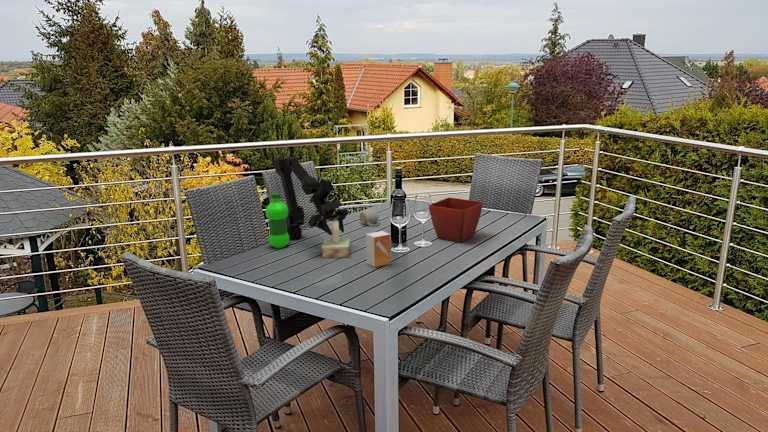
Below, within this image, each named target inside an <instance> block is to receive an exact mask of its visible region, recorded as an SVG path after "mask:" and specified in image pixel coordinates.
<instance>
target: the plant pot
mask: <svg viewBox="0 0 768 432" xmlns="http://www.w3.org/2000/svg"><path fill="white" fill-rule="evenodd" d="M483 204H484V203H483V201H477V200H471V199H463V198H457V197H447V198H444V199H442V200H439V201H436V202H433V203H431V204H428V209H429V214H430V218H431V223H432V225H433V228H434V232H435V233H436V236H437V238H438V239H439V240H445V241H450V242H454V243H460V244H461V243H463V242H464V241H468V240H469V239H470V238H473V237H474V235H475V233H476V231H477V227H478V226H479V222H480V218H481V214H482V210H483Z"/></svg>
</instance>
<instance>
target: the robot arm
mask: <svg viewBox="0 0 768 432" xmlns="http://www.w3.org/2000/svg"><path fill="white" fill-rule="evenodd" d="M273 167H274V171H275V173H276V174H277V176H279V177H280V180H281V184H282V188H283V189H282V190H283V193H284V197H285V201H286V206H287V208H288V216H287V217H286V227H287V233H288V234H289V240H300V239H301V238H302V237H303V228H302V225H304V224H305V217H306V216H305V212H304V207H303V206H300V205H299V204H298V200H297V196H296V192H295V186H294V183H293V179H292V173H293V174H294V175H295V177H296V178H297V180H298V181H299V182H300V183H301V190H303V193H304V194H305V195H307V196H309V195H311V196H310V199H309V203H312V204H313V205H314V207H315V209H316V210H315V212H316V214H314V215H312V216H311V217H310V219H309V220H308V226H309V227H310V228H313V227H314V228H316V229H317V228H318V229H320V230H322V231H323V232H324V233H327V234H328V235H330V236H332V229H331V228H330V227H329V225H328V222H327V221H329V220H333V219H334V220H337V221H339V231H340V232H341V233H344V232H345V229H344V228H345V227H344V220H345V219H347V216H348V215H349V213H350V212H349V211H348V209H347V208H340V207H341V206H342V202H341V200H340V199H338V198H337V199H335V200H333V201H328V200H327V198H329V196H330V195H331V193H332V191H333V190H334V185H333V184H332V183H331V182H329V181H327V179H325V178H324V179H320V181H319V180H318V179H317V178H315V177H314V176H311V175H310V174H309V173H308V171H307V170H306V169H305V168H304V167H303V166H302V164H301V162H299V159H298V158H297V157H279V158H276V159H275V160H274V162H273ZM337 209H338V210H337ZM336 210H337V212H336ZM335 212H336V213H335Z"/></svg>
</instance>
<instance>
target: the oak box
mask: <svg viewBox="0 0 768 432" xmlns="http://www.w3.org/2000/svg"><path fill="white" fill-rule="evenodd" d="M350 244H351V243H349V247H348V249H322V248H321V250H322V251H321V252H322V253H321V254H322V259H326V258H328V259H329V258H331V259H333V258H334V259H335V258H349V257H350V256H349V255H350V251H351V246H350Z"/></svg>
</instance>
